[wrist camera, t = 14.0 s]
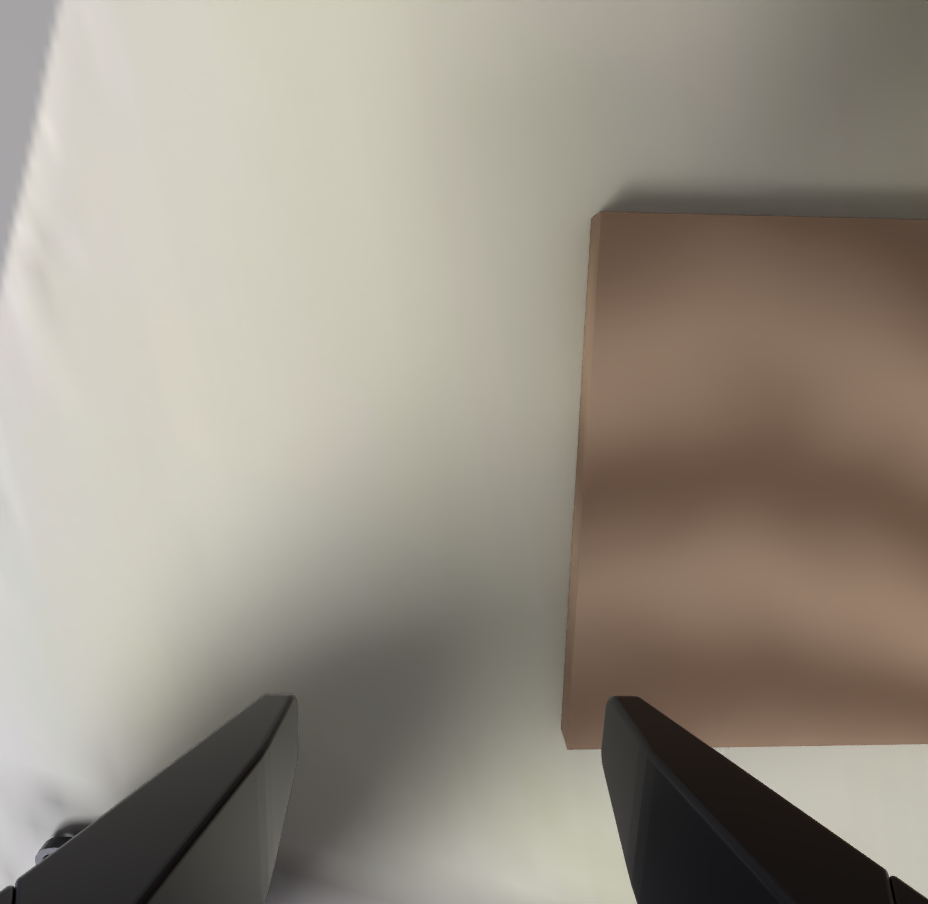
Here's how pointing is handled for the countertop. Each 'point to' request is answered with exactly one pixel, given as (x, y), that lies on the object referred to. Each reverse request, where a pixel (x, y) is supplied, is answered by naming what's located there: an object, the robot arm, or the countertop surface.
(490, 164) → the countertop surface
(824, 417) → the walnut board
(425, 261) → the countertop surface
